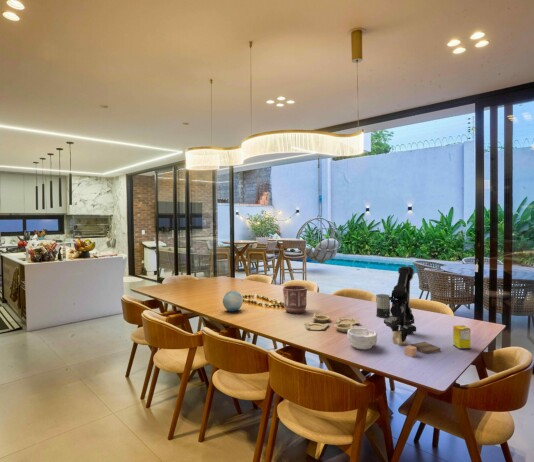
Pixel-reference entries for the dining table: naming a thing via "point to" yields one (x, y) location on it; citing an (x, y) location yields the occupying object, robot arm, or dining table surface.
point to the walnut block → (426, 347)
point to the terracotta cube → (410, 351)
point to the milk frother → (383, 305)
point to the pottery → (295, 298)
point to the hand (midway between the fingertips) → (399, 340)
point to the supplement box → (461, 337)
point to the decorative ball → (232, 301)
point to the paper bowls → (361, 338)
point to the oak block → (398, 338)
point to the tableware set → (342, 326)
